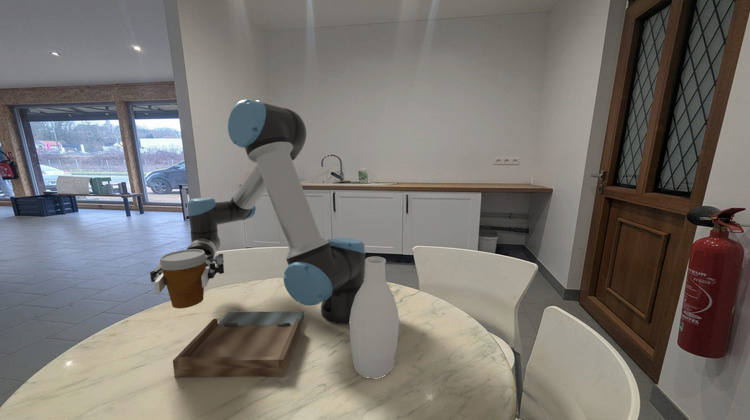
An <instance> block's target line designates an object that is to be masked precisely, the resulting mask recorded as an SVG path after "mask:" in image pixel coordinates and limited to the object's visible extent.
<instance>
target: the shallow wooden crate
mask: <svg viewBox="0 0 750 420" xmlns="http://www.w3.org/2000/svg"><path fill="white" fill-rule="evenodd" d="M304 318H305V311H301V310H299V311H298V310H297V311H295V310H294V311H286V310H285V311H228V312H227V313H226V314H225V315H224V316H223V317H222V318H221V320H220V321H218V318H213V319H212V320H210V322H209V323H208V324H207V325H206V326H205V327H204V328H203V329H202V330H201V331H200V332H199V333H198V334H197V335H196V336H195V337H194V338H193V339H192V340H191V341H190V342H189V343H188V344H187V345H186V346H185V347H184V348H183V350H181V351H180V352H179V354H178V355H177V356H175V358H173V359H172V366H173V368H172V369H173V375H174V376H173V377H174V378H221V377H222V378H235V377H236V378H238V377H240V378H245V377H246V378H249V377H254V378H255V377H256V378H257V377H284V376H285V374H286V371H287V369H288V366H289V364H290V361H291V358H292V355H293V353H294V351H295V348H296V345H297V342H298V340H299V337H300V335H301V333H302V332H301V330H302V329H301V328H302V327H301V325H302V323H303V320H304Z"/></svg>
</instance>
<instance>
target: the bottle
mask: <svg viewBox="0 0 750 420" xmlns="http://www.w3.org/2000/svg"><path fill="white" fill-rule="evenodd" d="M386 263H387V259H386V258H385V257H381V256H377V255H376V256H369V257H366V258H365V274H364V282H363V284H362V285H361V287H360V289H359V290H358V292H357V294H356V296H355V299H354V302H353V305H352V308H351V313H350V319H349V322H350V323H349V338H350V339H349V341H350V342H349V343H350V350H351V357H352V364H353V368H354V369H355V372H356V373H357V374H359V375H360V376H361V375H362V376H361V377H363V376H364V377H363V378H365V377H369V378H379V377H382V376H384V375H386V374H387V375H388V373H389V372H390V373H391V372H392V370H393V367H394V363H395V359H396V353H397V348H398V339H399V330H400V329H399V328H400V318H399V311H398V306H397V302H396V299H395V295H394V293H393V292H392V290H391V288H390V286H389V284H388V283H387V280H386ZM390 373H389V374H390ZM387 375H386V376H387ZM382 378H383V377H382Z"/></svg>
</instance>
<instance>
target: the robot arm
mask: <svg viewBox="0 0 750 420" xmlns="http://www.w3.org/2000/svg"><path fill="white" fill-rule="evenodd" d="M227 132H228V136H229V139H230V140H231V143H233V145H236V146H237V147H239V148H242V149H243V148H244V150H245V152H246V155H247V157H248V160H249V161H251V162H253V163H255V165H254V166H253V167H252V169H251V171H250V172H249V173H248V175H247V176H246V178H245V179H244V180H243V182H242V183H241V184H240V186H239V188H238V189H237V190H236V192H235V193H234V194H233V196H232V197H231V198H230V200H227V201H219V202H218V201H216V199H214V197H196V198H191V199H189V200H188V204H187V205H188V206H187V209H188V210H187V211H188V213H187V214H188V219H189V226H190V227H189V228H190V241H191V243H190V244H189V246H188V247H187V248H186V249H185V250H189V249H199V250H203V251H204V252H205V255H207V259H206V261H205V270H204V272H203V274H202V276H201V279H202V287H204V288H207V286H208V284H209V281H210V279H211V280H212V279H214V278H215V276H216V275H217V274H220V275H221V274H224V273H225V267H224V261H225V260H224V259H225V258H224V254H223V253H219V254H217V255H216V253H217V251H218V250H219V248H220V246H221V245H220V244H221V243H220V242H221V240H220V237H219V233H218V225H223V224H228V223H233V222H238V221H245V220H247V219H251V218H252V217H254V215H255V214H256V211H257V209H256V208H257V206H256V205H257V203H259V200H261V198H262V196H263V195H264V194H265V193H266V191H267V193H268V197H269V198H270V202H271V204H272V208H273V210H274V213H275V215H276V217H277V220H278V223H279V226H280V228H281V231H282V234H283V237H284V239H285V242H286V245H287V247H288V252H287V255H286V257H285V260H286V262H287V265H288V266H287V267H286V268H285V270H284V273H283V274H284V276H283V284H284V285H283V286H285V287H284V288H285V289H286V291H287V293H288V294H289V296H290V297H291V298H292V299H293V300H294V301H296V302H298V303H300V304H302V305H304V306H311V307H312V306H316V305H318V304H320V303H321V305H320V314H321V317H323V319H325V320H326V321H328V322H330V323H333V322H334V324H338V323H349V319H350V313H351V308H352V305H353V302H354V299H355V296H356V294H357V292H358V290H359V289H360V287H361V285H362V284H363V282H364V281H365V266H366V263H365V259H366V258H365V257H366V251H365V250H366V249H365V243H364V242H363V241H361V240H360V239H356V238H355V239H354V238H349V237H332V238H331V237H330V238H329V239H324V238H323V237H321V233H320V231H319V228H318V227H317V226H318V225H317V224H316V220H315V216H314V215H313V212H312V210H311V207H310V205H309V202H308V200H307V196H306V194H305V191H304V189H303V186H302V183H301V181H300V177H299V176H298V173H297V169H296V168H295V167H296V166H295V164H294V163H293V161H295V159H297V156H299V155H300V153H301V151H302V150H303V148H304V146H305V143H306V140H307V128H306V125H305V122H304V120H303V119H302V117H301V116H300V115H299V114H298V113H296V112H295V111H293V110H291V109H290V108H285V107H280V106H277V105H272V104H268V103H266V102H262V101H261V100H253V99H242V100H240V101H238V102H237V103H236V104H235V105H234V106H233V107H232V109H231V111H230V113H229V117H228V120H227ZM149 276H150V281H151V283H153V285H154V290H155V294H156V295H158V294H161V292H162V291H163V290H164V288H165V287H167V285H166V282H165V278H164V275H163V272H162V269H161V268H160V266H159V265H158V266H157V267H155V268H154V269H152V270H151V271H149ZM349 324H350V323H349Z"/></svg>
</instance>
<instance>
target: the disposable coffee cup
mask: <svg viewBox="0 0 750 420" xmlns="http://www.w3.org/2000/svg"><path fill="white" fill-rule="evenodd" d="M206 259H207V255H205V252H204V251H203V250H199V249H189V250H186V249H181V250H176V251H172V252H168V253H165V254H164V255H162V256H160V258H159V261H158V266H160V268H161V269H162V272H163V275H164V278H165V282H166V288H167V292H168V296H169V299H170V302H171V306H172V307H173V308H174V309H186V308H191V307H195V306H197V305H199V304H201V303H202V302H203V301H204V294H205V293H204V291H205V287H202V279H201V276H202V274H203V272H204V270H205V261H206Z"/></svg>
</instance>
